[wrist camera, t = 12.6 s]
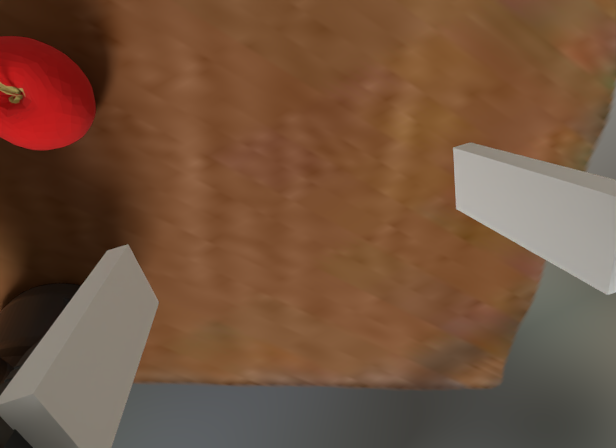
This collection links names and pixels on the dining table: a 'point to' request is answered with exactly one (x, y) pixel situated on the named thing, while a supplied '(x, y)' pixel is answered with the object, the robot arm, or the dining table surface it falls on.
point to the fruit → (42, 95)
